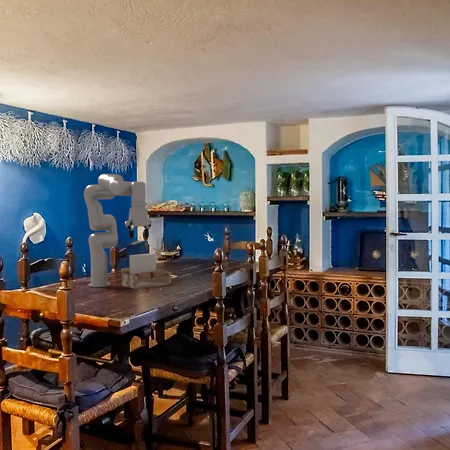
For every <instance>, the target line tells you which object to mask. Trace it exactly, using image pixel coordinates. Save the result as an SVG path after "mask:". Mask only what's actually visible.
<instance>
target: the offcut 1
mask: <svg viewBox="0 0 450 450" xmlns="http://www.w3.org/2000/svg"><path fill="white" fill-rule="evenodd" d="M135 276H137V277H138V280H139V279H147V278H151V276H150V273H149V272H144V273H136V274H135Z"/></svg>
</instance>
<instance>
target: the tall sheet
mask: <svg viewBox="0 0 450 450" xmlns="http://www.w3.org/2000/svg"><path fill="white" fill-rule="evenodd" d="M156 254H157V253H148V254H139V255H130V275H135V274H136V273H144V272H149V273H150V272H153V271H156V265H157V259H156V258H157V255H156Z"/></svg>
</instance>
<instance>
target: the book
mask: <svg viewBox="0 0 450 450" xmlns="http://www.w3.org/2000/svg"><path fill="white" fill-rule="evenodd" d="M148 243H149V242H148V240H147V239H146V240H143V239H142V240H139V239H137V240H133V241H131V242H129V243H127V244H125V245H126V247H125V249H126V268H130V255H139V254H149V244H148Z"/></svg>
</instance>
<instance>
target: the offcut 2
mask: <svg viewBox="0 0 450 450" xmlns="http://www.w3.org/2000/svg"><path fill="white" fill-rule="evenodd" d="M165 272H166V271H165V270H159V271H153V272H150V276H151V278H155V277H163V276H165Z"/></svg>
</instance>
